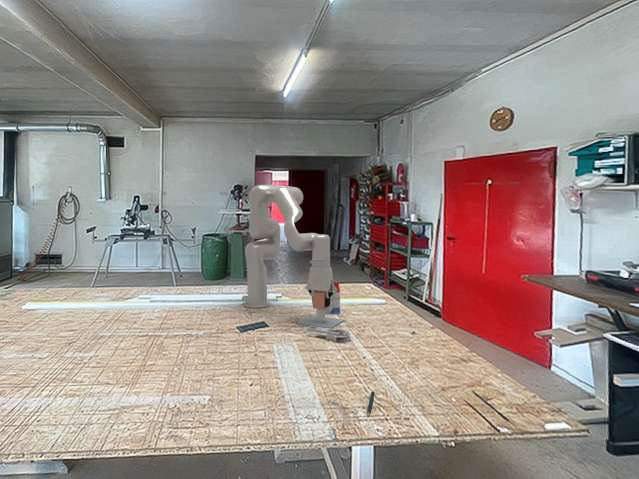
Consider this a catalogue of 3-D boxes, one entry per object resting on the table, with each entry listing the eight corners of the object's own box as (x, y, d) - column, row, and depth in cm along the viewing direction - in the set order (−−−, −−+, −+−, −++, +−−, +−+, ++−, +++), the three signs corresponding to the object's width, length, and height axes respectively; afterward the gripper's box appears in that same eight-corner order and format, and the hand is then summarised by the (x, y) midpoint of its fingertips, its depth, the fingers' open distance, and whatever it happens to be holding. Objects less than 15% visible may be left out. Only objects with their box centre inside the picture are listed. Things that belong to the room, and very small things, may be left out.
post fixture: (296, 324, 207) (296, 308, 207) (311, 316, 220) (312, 302, 219) (330, 329, 200) (330, 313, 200) (344, 321, 213) (344, 306, 212)
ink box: (340, 311, 230) (340, 280, 228) (339, 314, 225) (339, 282, 224) (322, 311, 231) (322, 280, 229) (320, 313, 226) (321, 282, 224)
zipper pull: (313, 332, 196) (313, 321, 196) (354, 338, 187) (354, 327, 187) (303, 337, 189) (303, 326, 189) (345, 344, 181) (345, 332, 180)
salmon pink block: (312, 308, 208) (312, 292, 208) (318, 305, 213) (318, 290, 212) (323, 309, 206) (323, 293, 205) (329, 307, 210) (329, 291, 210)
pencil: (374, 394, 136) (369, 419, 122) (371, 394, 136) (365, 418, 122) (374, 391, 136) (369, 415, 122) (371, 391, 136) (365, 415, 122)
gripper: (299, 263, 208) (299, 305, 210) (335, 266, 200) (335, 310, 202) (307, 261, 215) (307, 302, 216) (343, 263, 207) (343, 306, 209)
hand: (321, 305), depth 209 cm, fingers closed on salmon pink block, 5 cm apart
